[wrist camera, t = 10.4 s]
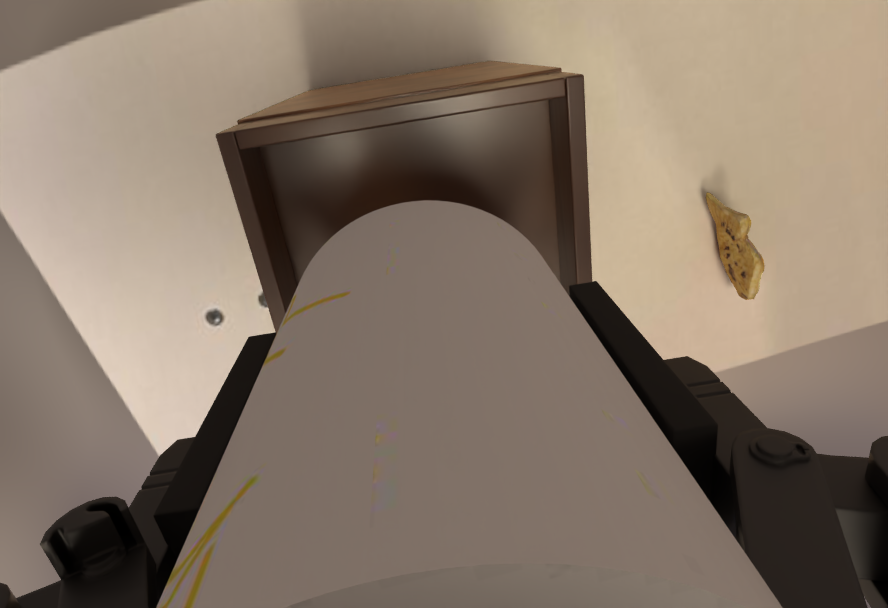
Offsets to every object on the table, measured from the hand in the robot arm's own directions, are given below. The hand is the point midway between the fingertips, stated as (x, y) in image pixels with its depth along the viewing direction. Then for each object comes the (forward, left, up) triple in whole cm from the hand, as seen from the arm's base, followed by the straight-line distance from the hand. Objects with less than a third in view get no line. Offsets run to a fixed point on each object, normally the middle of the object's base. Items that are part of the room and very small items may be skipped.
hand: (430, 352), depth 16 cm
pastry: (+22, -9, -26) cm, 35 cm away
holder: (0, 0, -8) cm, 8 cm away
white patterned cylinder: (0, 0, -1) cm, 1 cm away
